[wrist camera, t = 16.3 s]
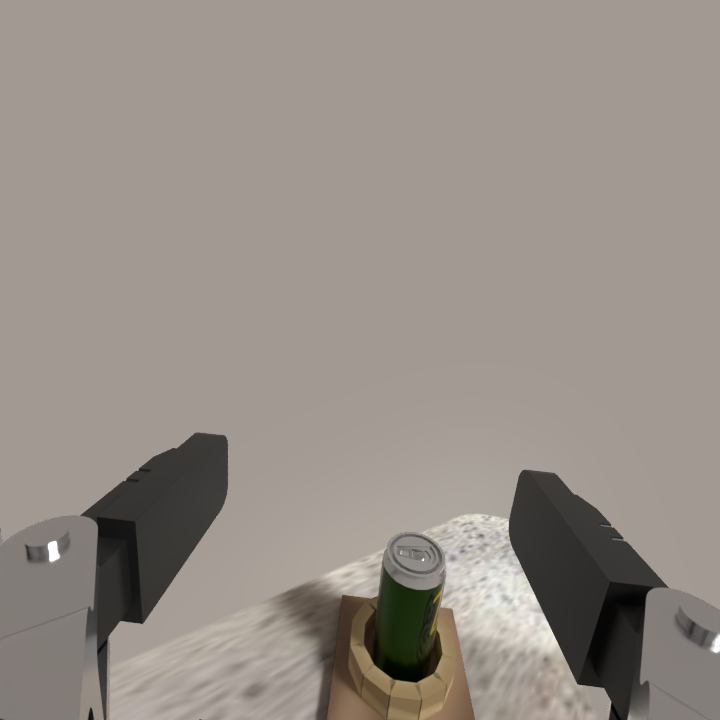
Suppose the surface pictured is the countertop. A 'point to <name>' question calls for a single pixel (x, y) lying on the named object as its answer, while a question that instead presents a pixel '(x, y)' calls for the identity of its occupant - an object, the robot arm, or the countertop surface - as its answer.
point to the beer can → (408, 606)
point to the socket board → (348, 692)
